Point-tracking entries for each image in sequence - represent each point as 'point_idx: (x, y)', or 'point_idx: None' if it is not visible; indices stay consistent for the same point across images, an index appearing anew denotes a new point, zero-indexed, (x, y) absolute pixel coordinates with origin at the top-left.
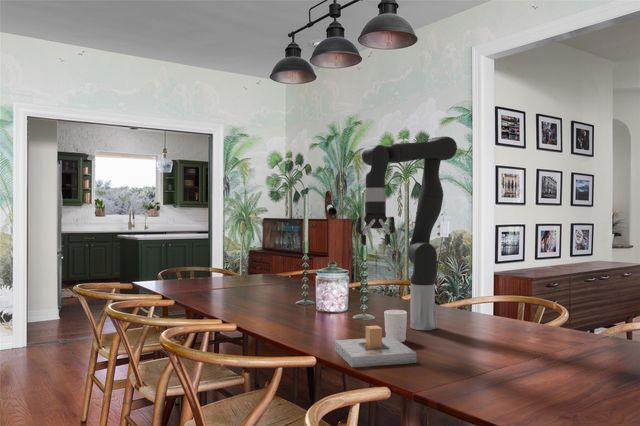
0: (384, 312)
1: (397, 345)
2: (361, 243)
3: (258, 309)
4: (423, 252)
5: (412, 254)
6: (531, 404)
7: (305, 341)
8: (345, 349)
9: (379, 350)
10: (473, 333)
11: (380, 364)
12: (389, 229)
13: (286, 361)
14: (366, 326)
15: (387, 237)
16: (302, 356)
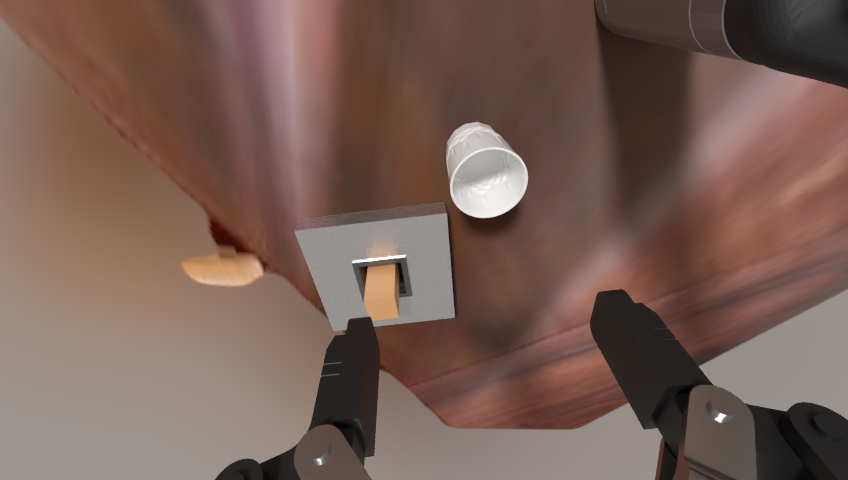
0: (450, 182)
1: (435, 277)
2: (334, 341)
3: None
4: None
5: None
6: (516, 409)
7: (204, 135)
8: (321, 294)
9: None
10: (739, 95)
11: None
12: (821, 460)
13: (206, 283)
14: (365, 302)
15: (636, 398)
16: (231, 258)
